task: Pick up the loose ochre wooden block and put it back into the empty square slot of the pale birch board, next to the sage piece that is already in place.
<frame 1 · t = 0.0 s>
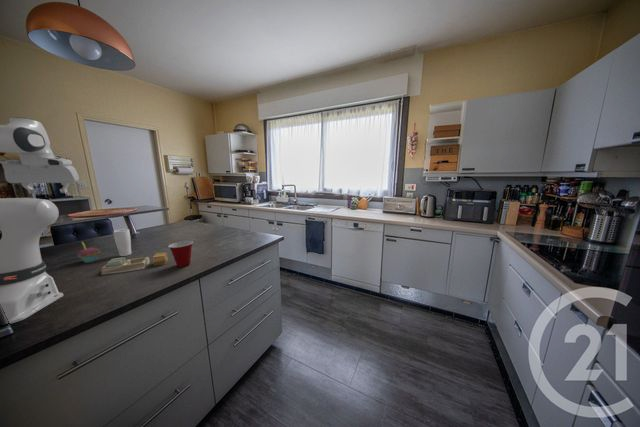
hand: (49, 193, 91), 39 cm above the worktop, tool pointing down, fingers open, 8 cm apart
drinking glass: (125, 255, 123), on the worktop
plastic cup: (183, 265, 110), on the worktop
cupcake: (90, 261, 114), on the worktop
ochre block: (161, 263, 112), on the worktop
slot board: (127, 267, 106), on the worktop
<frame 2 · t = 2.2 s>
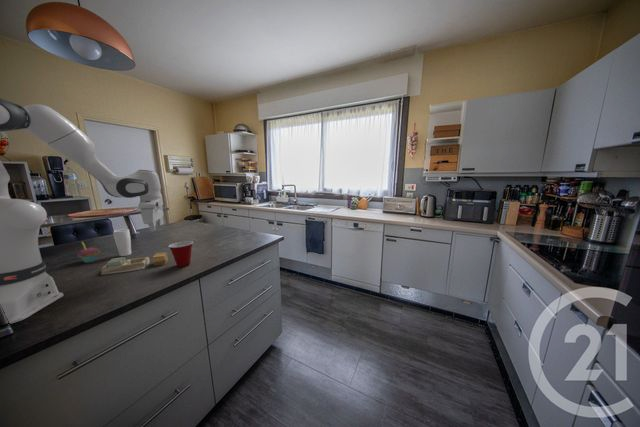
hand: (156, 228, 108), 19 cm above the worktop, tool pointing down, fingers open, 8 cm apart
nothing on the worktop moved.
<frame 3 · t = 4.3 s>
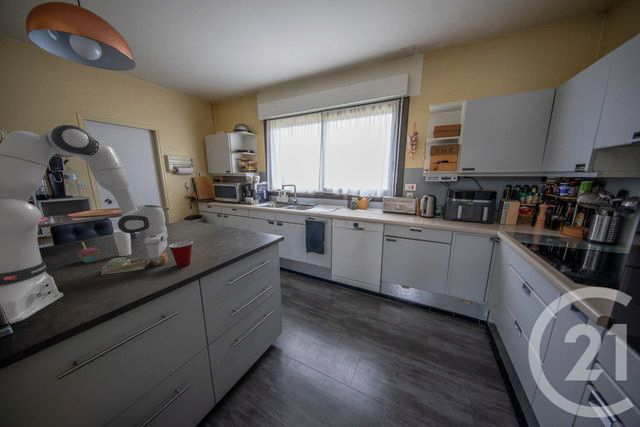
hand: (160, 260, 112), 2 cm above the worktop, tool pointing down, fingers closed on ochre block, 5 cm apart
ochre block: (161, 263, 112), on the worktop, touching gripper
everything else where it was.
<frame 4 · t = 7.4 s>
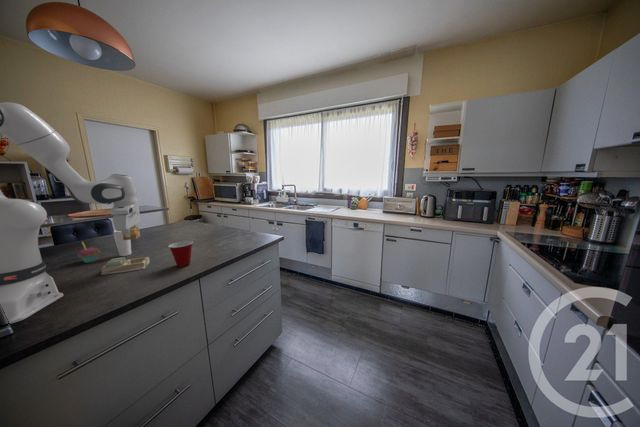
hand: (131, 235, 104), 17 cm above the worktop, tool pointing down, fingers closed on ochre block, 5 cm apart
ochre block: (132, 238, 105), point 15 cm above the worktop, touching gripper
everything else where it was.
when the fingers open (4 cm above the worktop, at t = 10.2 s): ochre block drops 1 cm, resting on slot board.
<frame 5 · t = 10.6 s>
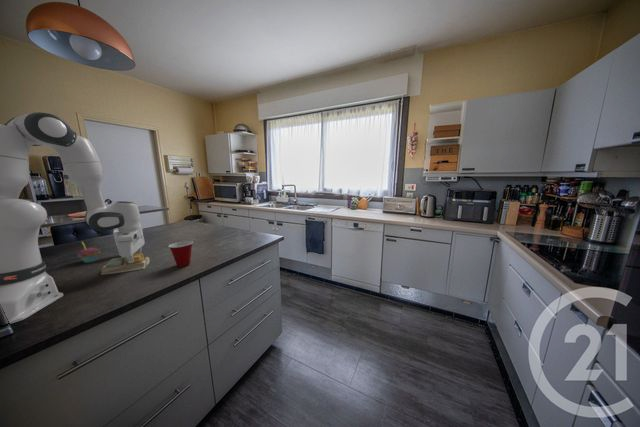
hand: (135, 259, 107), 4 cm above the worktop, tool pointing down, fingers open, 8 cm apart
ochre block: (136, 264, 107), point 1 cm above the worktop, touching slot board
everything else where it was.
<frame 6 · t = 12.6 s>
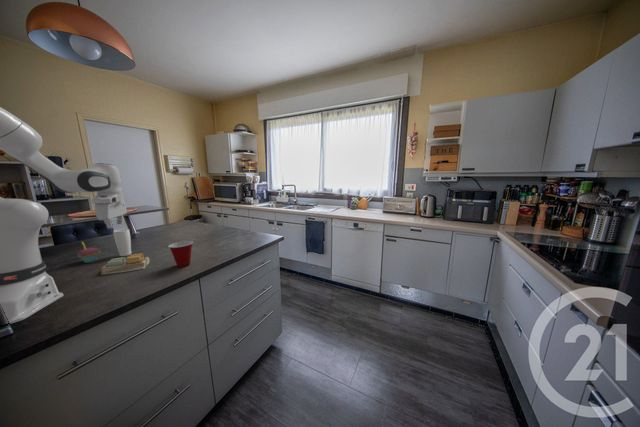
hand: (115, 226, 103), 22 cm above the worktop, tool pointing down, fingers open, 8 cm apart
nothing on the worktop moved.
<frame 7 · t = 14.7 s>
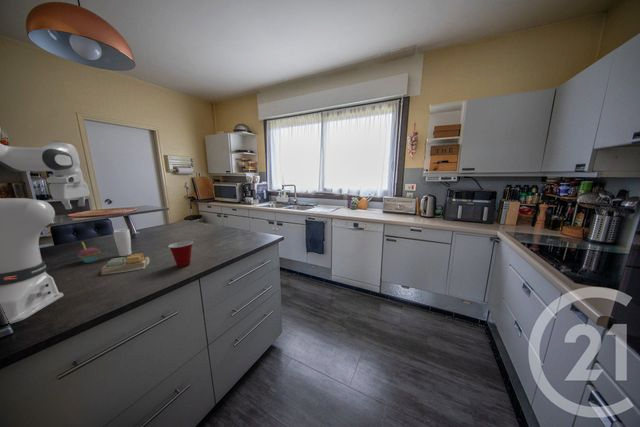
hand: (75, 207, 100), 31 cm above the worktop, tool pointing down, fingers open, 8 cm apart
nothing on the worktop moved.
at the end: ochre block 0.1 cm from the target spot on the slot board, point 1.0 cm above the slot board's base; ochre block tilted 0°; the gripper is holding nothing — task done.
